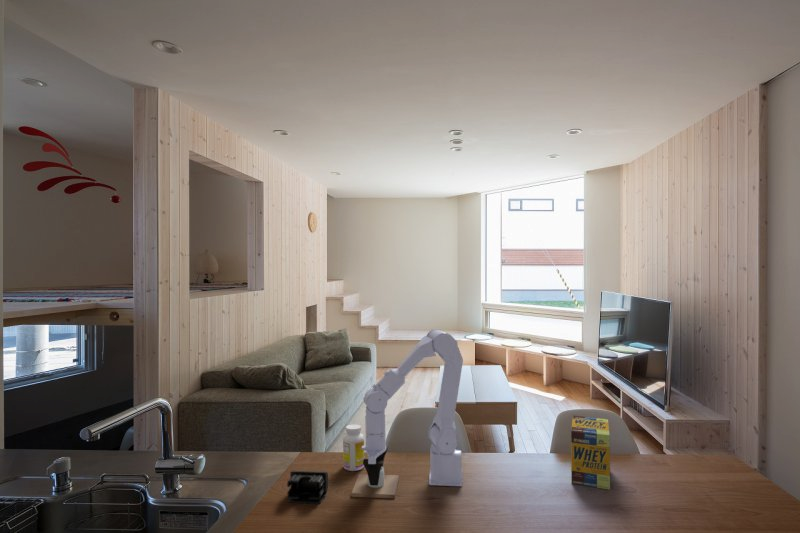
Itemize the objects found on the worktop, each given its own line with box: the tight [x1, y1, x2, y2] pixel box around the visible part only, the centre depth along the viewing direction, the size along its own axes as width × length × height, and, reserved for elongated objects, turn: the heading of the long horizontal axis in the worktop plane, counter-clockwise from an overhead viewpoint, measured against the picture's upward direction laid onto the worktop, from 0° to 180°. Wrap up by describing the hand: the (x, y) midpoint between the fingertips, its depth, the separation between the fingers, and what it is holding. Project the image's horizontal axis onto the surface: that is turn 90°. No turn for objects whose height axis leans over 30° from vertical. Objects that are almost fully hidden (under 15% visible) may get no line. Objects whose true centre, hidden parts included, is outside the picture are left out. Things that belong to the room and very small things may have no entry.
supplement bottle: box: [342, 424, 366, 472], centre depth 150 cm, size 7×7×13 cm
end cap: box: [286, 470, 329, 505], centre depth 131 cm, size 10×7×7 cm
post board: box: [350, 473, 400, 499], centre depth 137 cm, size 12×12×3 cm
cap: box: [368, 466, 385, 488], centre depth 137 cm, size 5×5×5 cm
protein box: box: [570, 415, 611, 490], centre depth 142 cm, size 10×15×16 cm
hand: (376, 479), depth 137 cm, fingers open, 7 cm apart
